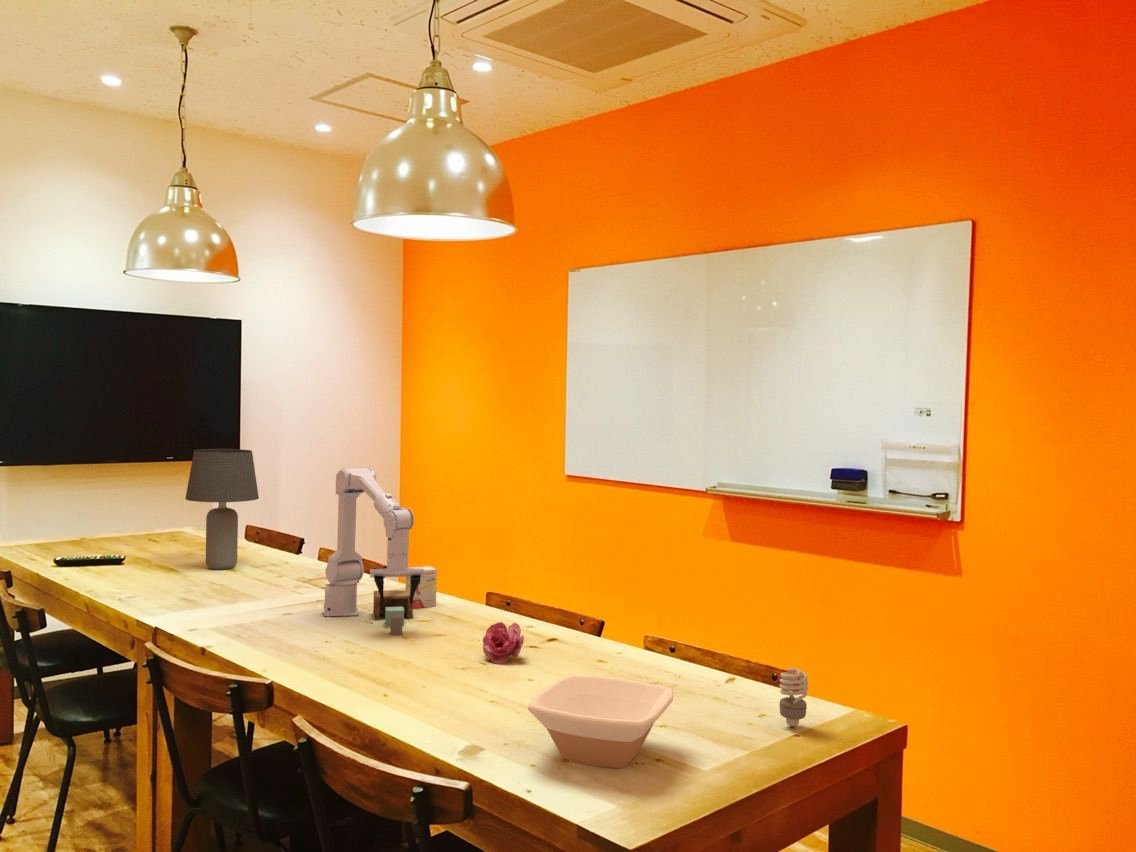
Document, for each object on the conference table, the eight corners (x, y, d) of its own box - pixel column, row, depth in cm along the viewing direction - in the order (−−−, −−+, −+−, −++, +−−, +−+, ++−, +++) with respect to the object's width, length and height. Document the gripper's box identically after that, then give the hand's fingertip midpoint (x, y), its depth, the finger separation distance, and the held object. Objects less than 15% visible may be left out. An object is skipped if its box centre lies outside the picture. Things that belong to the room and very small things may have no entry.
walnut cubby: (374, 619, 268) (374, 596, 268) (373, 613, 276) (373, 590, 276) (412, 618, 270) (413, 595, 270) (410, 612, 278) (411, 590, 278)
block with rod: (387, 634, 252) (387, 618, 251) (385, 622, 265) (385, 607, 265) (405, 634, 253) (406, 617, 253) (402, 622, 266) (403, 606, 266)
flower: (502, 679, 226) (478, 646, 225) (493, 670, 235) (471, 639, 234) (539, 649, 229) (516, 617, 228) (529, 642, 238) (507, 611, 237)
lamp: (243, 575, 327) (245, 453, 326) (172, 573, 327) (174, 451, 326) (267, 562, 352) (269, 449, 351) (201, 560, 352) (203, 447, 351)
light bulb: (774, 722, 191) (776, 664, 190) (801, 722, 191) (803, 664, 191) (783, 732, 185) (785, 672, 185) (810, 732, 186) (812, 672, 185)
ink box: (411, 609, 282) (412, 570, 282) (404, 606, 286) (405, 568, 286) (436, 606, 287) (437, 568, 287) (429, 603, 291) (430, 565, 291)
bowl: (515, 766, 164) (517, 707, 164) (565, 722, 187) (567, 670, 187) (644, 790, 156) (646, 727, 156) (680, 741, 179) (682, 686, 179)
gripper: (370, 556, 247) (369, 607, 248) (425, 555, 250) (424, 605, 251) (370, 551, 254) (369, 601, 254) (423, 551, 257) (422, 600, 258)
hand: (396, 603), depth 253 cm, fingers open, 7 cm apart
